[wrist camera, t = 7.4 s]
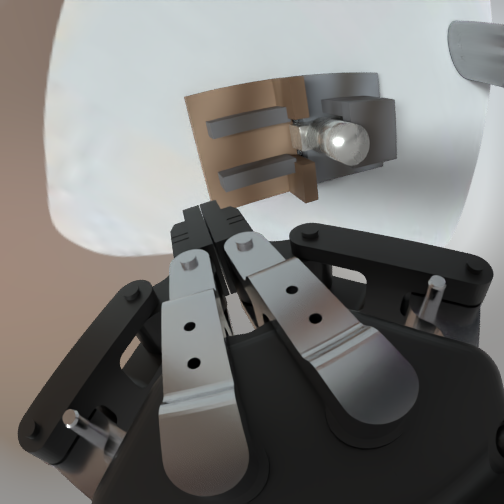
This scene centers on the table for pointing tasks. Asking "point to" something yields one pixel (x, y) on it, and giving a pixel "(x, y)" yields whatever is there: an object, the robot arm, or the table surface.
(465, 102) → the table surface
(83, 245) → the table surface
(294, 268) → the robot arm
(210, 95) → the plate
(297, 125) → the steel bolt
